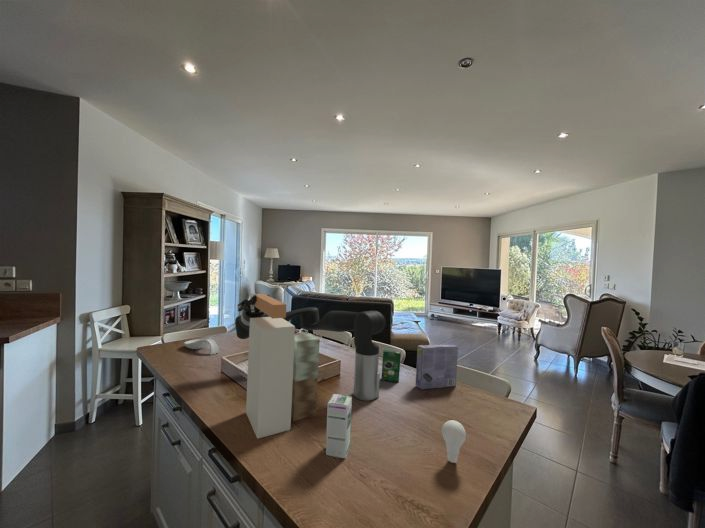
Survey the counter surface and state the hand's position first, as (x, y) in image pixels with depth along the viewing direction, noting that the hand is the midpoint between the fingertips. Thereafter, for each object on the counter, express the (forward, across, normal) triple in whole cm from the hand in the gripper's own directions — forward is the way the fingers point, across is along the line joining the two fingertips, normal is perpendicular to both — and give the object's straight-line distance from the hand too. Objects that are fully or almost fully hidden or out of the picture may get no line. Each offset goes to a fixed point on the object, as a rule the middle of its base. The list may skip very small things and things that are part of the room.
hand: (262, 297), depth 104 cm
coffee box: (-16, +57, +35) cm, 69 cm away
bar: (+5, 0, +7) cm, 8 cm away
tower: (-8, +11, +39) cm, 42 cm away
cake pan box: (-4, +72, +42) cm, 84 cm away
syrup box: (+12, +13, +51) cm, 54 cm away
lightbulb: (+27, +38, +60) cm, 77 cm away
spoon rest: (-82, -13, -3) cm, 83 cm away
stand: (-8, 0, +39) cm, 40 cm away
